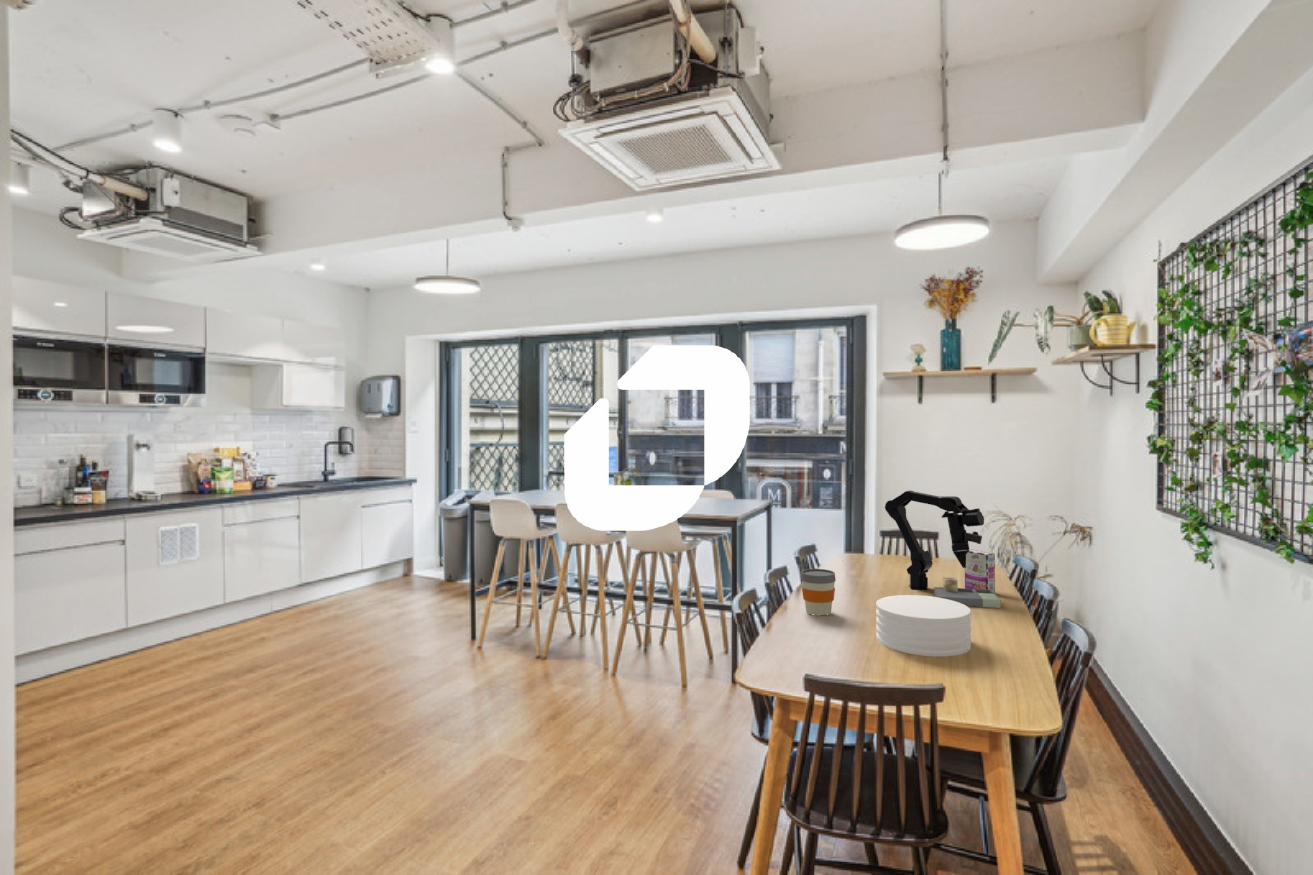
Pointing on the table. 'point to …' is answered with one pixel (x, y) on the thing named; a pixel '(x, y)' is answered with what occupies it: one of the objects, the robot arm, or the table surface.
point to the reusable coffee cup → (818, 590)
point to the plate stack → (923, 625)
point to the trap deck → (970, 597)
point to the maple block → (950, 584)
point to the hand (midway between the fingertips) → (964, 566)
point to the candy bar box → (980, 570)
